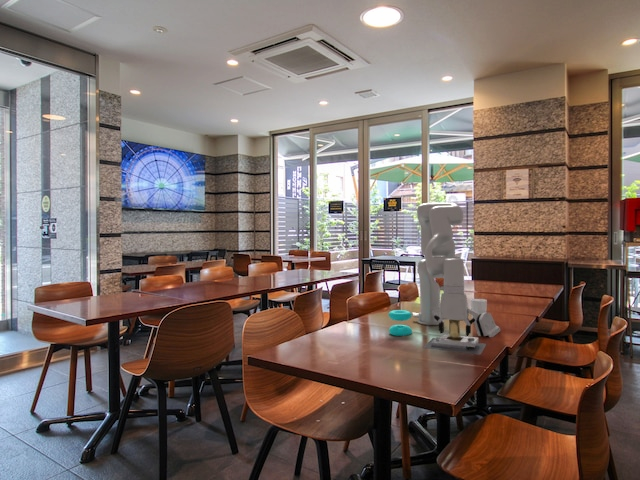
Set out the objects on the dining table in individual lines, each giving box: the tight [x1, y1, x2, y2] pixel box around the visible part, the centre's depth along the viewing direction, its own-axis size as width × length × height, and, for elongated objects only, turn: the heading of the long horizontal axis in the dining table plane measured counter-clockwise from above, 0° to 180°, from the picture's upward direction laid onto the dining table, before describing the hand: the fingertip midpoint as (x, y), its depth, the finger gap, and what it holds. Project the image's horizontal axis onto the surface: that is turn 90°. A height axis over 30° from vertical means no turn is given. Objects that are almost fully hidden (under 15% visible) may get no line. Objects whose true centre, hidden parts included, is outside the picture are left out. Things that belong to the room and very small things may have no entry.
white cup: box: [469, 298, 488, 319], centre depth 206 cm, size 8×8×10 cm
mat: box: [422, 337, 487, 356], centre depth 158 cm, size 21×16×1 cm
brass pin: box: [448, 320, 461, 340], centre depth 158 cm, size 4×4×10 cm
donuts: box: [388, 309, 413, 337], centre depth 180 cm, size 10×10×10 cm
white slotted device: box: [473, 312, 501, 338], centre depth 178 cm, size 17×5×10 cm, turn 143°
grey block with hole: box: [431, 334, 479, 350], centre depth 158 cm, size 16×9×4 cm, turn 60°
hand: (454, 333), depth 158 cm, fingers open, 9 cm apart
